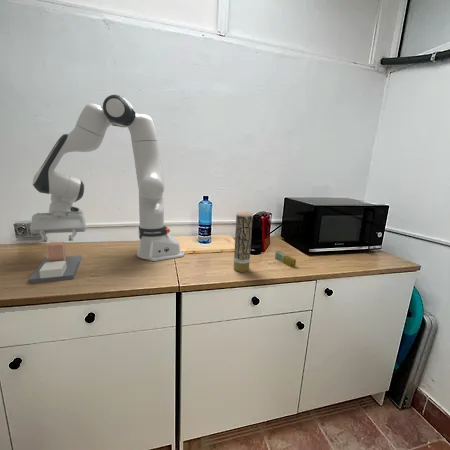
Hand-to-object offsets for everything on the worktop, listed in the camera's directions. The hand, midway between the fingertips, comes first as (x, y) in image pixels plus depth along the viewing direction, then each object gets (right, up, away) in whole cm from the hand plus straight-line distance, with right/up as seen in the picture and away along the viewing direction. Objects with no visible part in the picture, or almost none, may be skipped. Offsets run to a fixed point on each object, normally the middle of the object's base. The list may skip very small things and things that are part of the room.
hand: (57, 240), depth 110 cm
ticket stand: (+2, -12, -2) cm, 12 cm away
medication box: (+98, -12, +17) cm, 100 cm away
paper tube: (+76, -13, +7) cm, 78 cm away
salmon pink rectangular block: (+1, -10, -2) cm, 10 cm away
